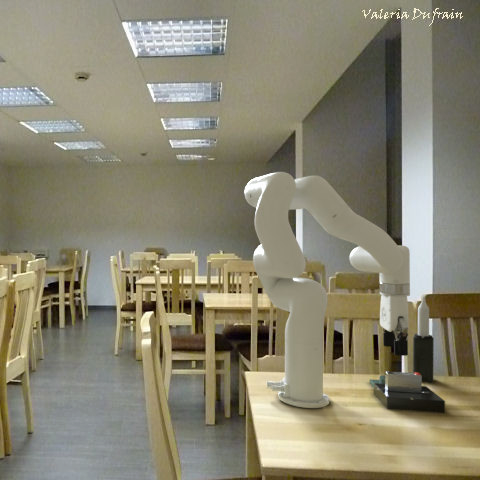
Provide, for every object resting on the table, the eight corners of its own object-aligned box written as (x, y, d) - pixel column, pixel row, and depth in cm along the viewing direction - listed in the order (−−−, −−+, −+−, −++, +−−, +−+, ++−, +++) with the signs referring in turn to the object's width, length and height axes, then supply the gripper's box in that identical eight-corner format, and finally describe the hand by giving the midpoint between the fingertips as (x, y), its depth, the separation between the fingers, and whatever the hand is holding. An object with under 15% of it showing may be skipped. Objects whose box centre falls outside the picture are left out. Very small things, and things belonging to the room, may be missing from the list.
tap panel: (385, 409, 108) (385, 397, 108) (370, 393, 120) (370, 381, 120) (445, 414, 106) (446, 401, 106) (425, 396, 118) (425, 384, 118)
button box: (377, 392, 121) (378, 381, 121) (369, 383, 129) (369, 373, 129) (417, 395, 119) (417, 384, 119) (406, 385, 127) (406, 375, 127)
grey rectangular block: (387, 391, 113) (387, 372, 113) (385, 388, 115) (385, 370, 115) (421, 393, 112) (421, 374, 112) (418, 390, 114) (418, 372, 114)
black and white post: (412, 380, 132) (413, 296, 132) (414, 376, 136) (414, 295, 136) (432, 383, 129) (433, 298, 129) (433, 379, 133) (434, 296, 133)
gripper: (371, 286, 133) (372, 342, 133) (389, 293, 116) (390, 358, 116) (398, 286, 131) (399, 343, 131) (421, 293, 114) (421, 359, 114)
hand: (395, 350), depth 123 cm, fingers open, 9 cm apart
